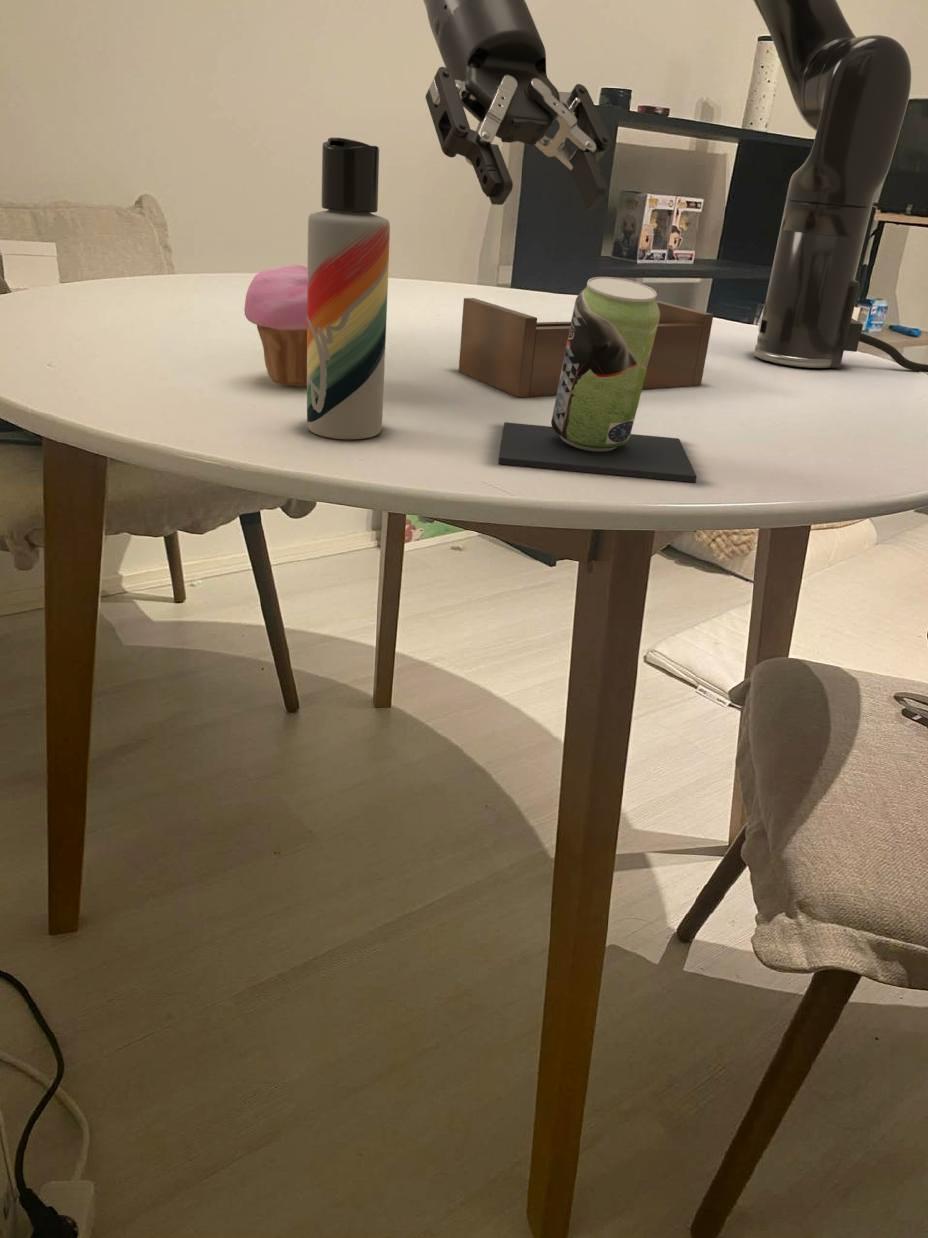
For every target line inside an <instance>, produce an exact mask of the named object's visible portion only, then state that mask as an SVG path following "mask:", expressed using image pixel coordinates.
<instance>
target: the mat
mask: <svg viewBox="0 0 928 1238" xmlns="http://www.w3.org/2000/svg"><path fill="white" fill-rule="evenodd" d="M498 464H499V465H506V466H517V467H527V468H528V467H529V468H539V469H548V470H559V471H569V472H581V473H589V474H590V473H592V474H603V475H612V476H622V477H633V478H644V479H645V478H646V479H654V480H664V481H665V480H666V481H676V482H686V483H696V482H697V478H698V477H697V474H696V472H695V470H694V468H693V465H692V463H691V461H690V459H689V457H688V455H687V453H686V450H685V448H684V446H683V444H682V442H681V440H680V438H677V437H670V436H669V437H666V436H657V435H647V434H646V435H645V434H637V433H636V434H634V433H631V435H630V439H629V440H628V442H627V443H625V444H624V445H621V446H618V447H616V448H615V449H613V450H610V451H604V452H594V451H587V450H583V449H579V448H576V447H573V446H571V445H569V444H567V443H566V442H564V441H563V440H562V439H561V438H560V436H559V434H557V433H556V432H555V431H554V429H553V428H552V426H548V425H538V424H528V423H519V422H518V423H516V422H505V421H504V423H503V429H502V436H501V442H500V449H499V455H498Z"/></svg>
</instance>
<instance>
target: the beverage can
mask: <svg viewBox="0 0 928 1238" xmlns="http://www.w3.org/2000/svg"><path fill="white" fill-rule="evenodd" d="M657 296H658V293H657V291H656V290H655V289H653V288H652V287H650V286H648V285H646V284H643V283H641V282H639V281H634V280H630V279H625V278H620V277H613V276H596V277H592V278H589V279H588V280H587V282H586V287H585V288H583V290H581V291H580V293H578V295H577V296H576V299H575V301H574V305H573V310H572V315H571V320H570V322H571V325H570V330H569V335H568V340H567V345H566V350H565V355H564V360H563V365H562V370H561V376H560V381H559V386H558V391H557V395H555V396H556V397H555V402H554V406H553V411H552V415H551V422H550V425H551V427H552V428H553V429H554V431H555V432H556V433H557V434H559V436H560V438H561V439H562V440H563V441H564V442H566V443H567V444H569V445H571V446H573V447H576V448H579V449H583V450H587V451H594V452H604V451H610V450H613V449H615V448H616V447H618V446H621V445H624V444H625V443H627V442H628V440H629V439H630V435H631V434H632V431H633V426H634V422H635V419H636V415H637V410H638V407H639V403H640V399H641V394H642V390H643V389H642V387H643V383H644V379H645V375H646V371H647V367H648V363H649V359H650V355H651V351H652V347H653V343H654V339H655V335H656V331H657V327H658V323H659V318H660V311H659V308H658V305H657V303H656V300H657Z"/></svg>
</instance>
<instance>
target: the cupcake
mask: <svg viewBox="0 0 928 1238" xmlns="http://www.w3.org/2000/svg"><path fill="white" fill-rule="evenodd" d="M307 283H308V266H305V265H302V264H293V265H288V266H282V267H281V266H280V267H276V268H270V269H265V270H261V271H259V272H258V273H256V274H255V276H254V277H253V278H252V280H251V282H250V284H249V286H248V288H247V290H246V295H245V300H244V308H243V310H244V316H245V318H246V320H247V321H248V322H250V323H251V324H254V325H255V326H256V328H257V332H258V335H259V339H260V341H261V344H262V348H263V359H264V364H265V368H266V372H267V375H268V377H269V379H271V381H272V382H273V383H275V384H278V385H282V386H299V387H307Z"/></svg>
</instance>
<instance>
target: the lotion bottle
mask: <svg viewBox="0 0 928 1238" xmlns="http://www.w3.org/2000/svg"><path fill="white" fill-rule="evenodd" d="M321 162H322V163H321V208H322V209H324V210H321V211H316V212H313V213H310V214H309V215H308V220H307V268H308V283H307V386H306V423H307V428H308V430H309V431H310V432H311V433H313V434H315V435H317V436H320V437H324V438H329V439H337V440H362V439H368V438H372V437H375V436H377V435H379V434H380V433H381V431H382V427H383V426H382V425H383V416H384V415H383V414H384V412H383V411H384V395H385V394H384V392H385V390H384V389H385V365H386V343H387V341H386V339H387V319H388V317H387V315H388V292H389V291H388V290H389V269H390V268H389V265H390V238H391V237H390V235H391V234H390V233H391V224H390V221H389V219H387V218H385V217H382V216H380V215H377V214H374V213H378V207H379V173H380V171H379V170H380V167H379V166H380V147H378V146H377V145H370V144H368V143H365V142H362V141H358V140H354V139H351V138H344V137H329V138H327V141H324V142H323V143H322V152H321Z"/></svg>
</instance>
